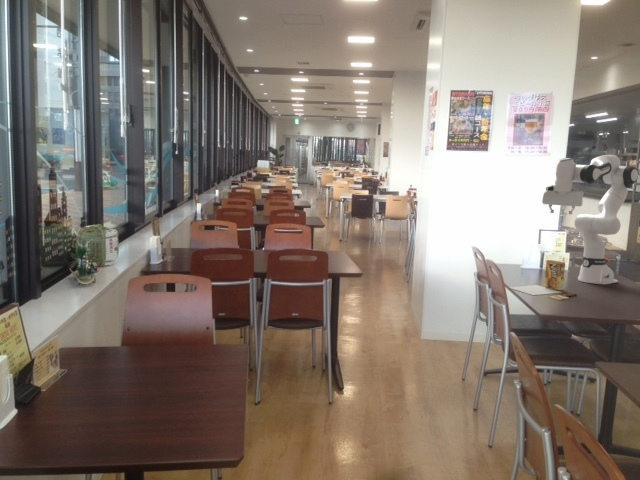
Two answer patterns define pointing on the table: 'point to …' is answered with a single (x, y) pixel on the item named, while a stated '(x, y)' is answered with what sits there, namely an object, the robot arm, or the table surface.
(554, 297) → the turner
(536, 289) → the mat
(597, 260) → the robot arm
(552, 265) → the candy box
